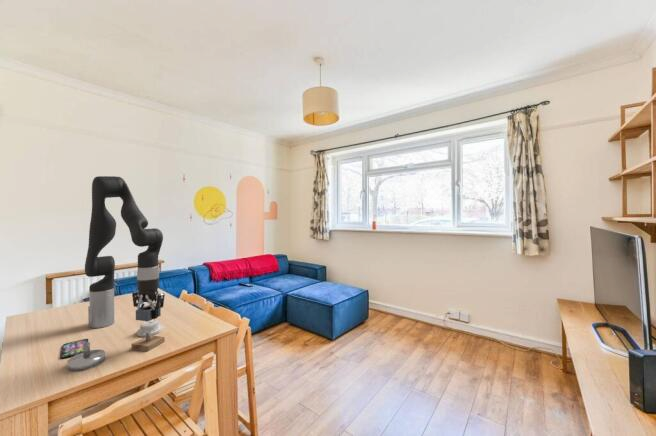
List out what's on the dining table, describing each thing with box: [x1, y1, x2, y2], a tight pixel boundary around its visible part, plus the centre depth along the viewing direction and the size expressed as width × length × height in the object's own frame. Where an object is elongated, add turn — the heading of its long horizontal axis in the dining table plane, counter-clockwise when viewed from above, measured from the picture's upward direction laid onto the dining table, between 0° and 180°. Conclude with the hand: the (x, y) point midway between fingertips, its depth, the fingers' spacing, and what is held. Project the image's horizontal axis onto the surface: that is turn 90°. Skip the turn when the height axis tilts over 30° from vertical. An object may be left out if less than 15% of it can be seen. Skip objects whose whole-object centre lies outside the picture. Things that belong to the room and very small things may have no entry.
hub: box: [67, 341, 106, 372], centre depth 96 cm, size 10×10×8 cm
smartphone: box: [60, 338, 89, 360], centre depth 107 cm, size 8×1×15 cm
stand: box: [131, 332, 166, 352], centre depth 110 cm, size 8×8×5 cm
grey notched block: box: [135, 304, 162, 322], centre depth 110 cm, size 6×6×4 cm
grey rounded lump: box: [136, 319, 164, 338], centre depth 122 cm, size 10×4×10 cm
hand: (148, 317), depth 110 cm, fingers closed on grey notched block, 6 cm apart
